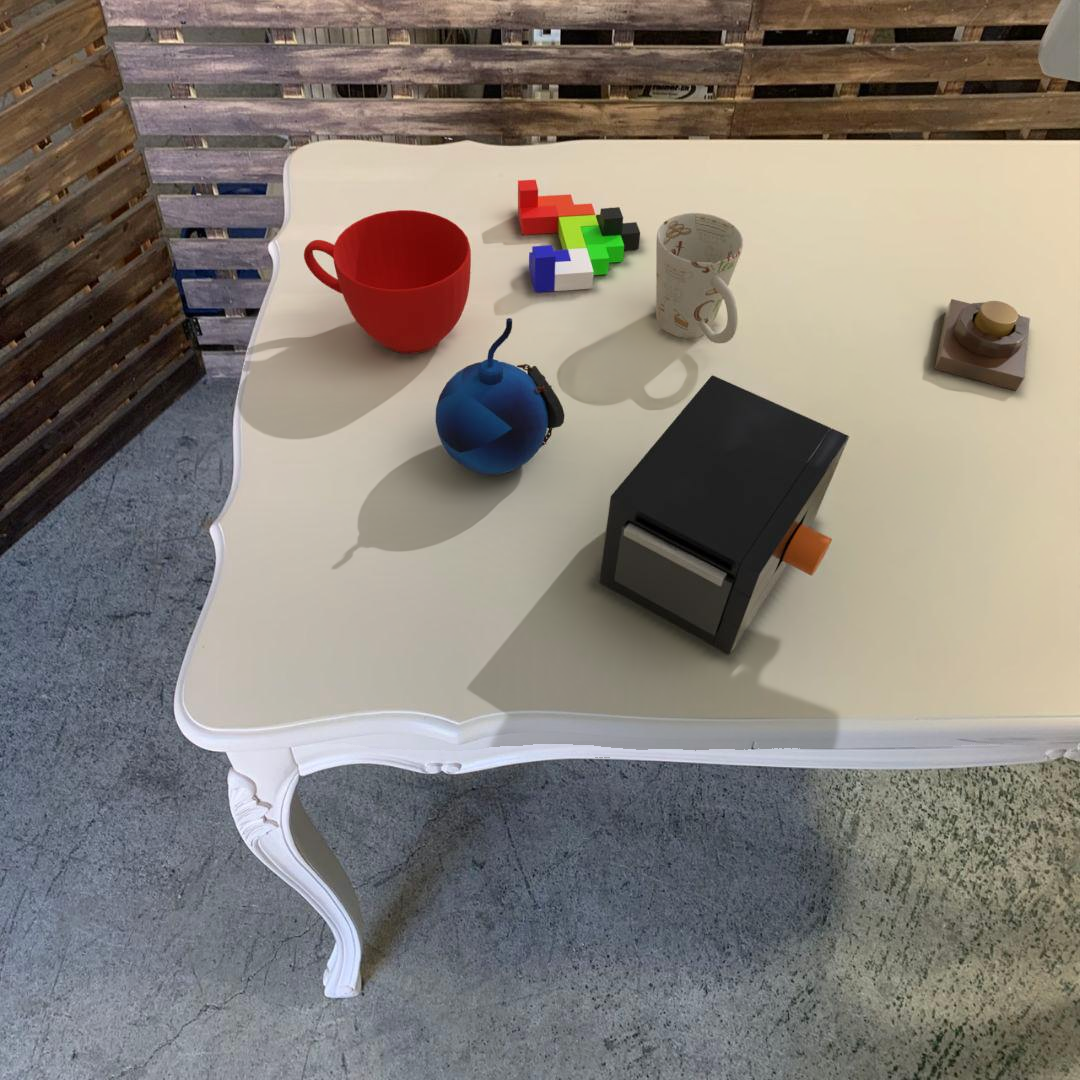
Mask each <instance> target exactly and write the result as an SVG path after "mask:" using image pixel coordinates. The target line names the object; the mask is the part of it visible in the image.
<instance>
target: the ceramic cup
mask: <svg viewBox="0 0 1080 1080" xmlns="http://www.w3.org/2000/svg"><path fill="white" fill-rule="evenodd" d="M314 251H320V252H323V253H325V254H327V255H328V256H330V257H331V258H332V259H333V267H334V271H335V274H336V277H334V276H333V275H331V274H330V273H328V271H326V270H325V269H324V268H323V267H322V266H321V264H319V262H318V260H317V259H316V258H315V255H314ZM303 259H304V263H305V264H306V266H307V268H308V270H309V271H310V272H311V274H312V275H313V276H314V277H315V278H316V279H317V280H318V281H319V282H320V283H322V284H323V285H325V286H326V287H327V288H329V289H331V290H334V291H335V292H337V293H339V294H341V295H342V297H343V299H344V301H345V303H346V305H347V307H348V310H349V312H350V315H351V316H352V317H353V319H354V320H355V322H356V323H357V324H358V325H359V326H360V328H361V329H362V330H363V331H364V332H365V333H366V334H367V335H368V336H369V337H370V338H372V339H374V341H376V342H378V343H380V344H381V345H383V346H385V347H386V348H388V349H389V350H391V351H393V352H397V353H401V354H419V353H422V352H426V351H429V350H431V349H433V348H435V346H437V345H438V344H439V343H440V342H441V341H442V340H443V339H444V338H446V337H447V336H448V335H449V334H450V333H451V332H452V330H454V328H455V326H456V325H457V324H458V322H459V321H460V319H461V317H462V314H463V312H464V309H465V307H466V304H467V301H468V298H469V292H470V284H471V282H470V281H471V267H472V266H471V265H472V249H471V244H470V242H469V238H468V236H467V235H466V233H465V232H464V230H463V229H462V228H460V227H459V225H457V224H456V223H455V222H453V221H451V220H449V219H448V218H446V217H443V216H441V215H439V214H435V213H431V212H428V211H421V210H413V209H410V210H409V209H397V210H388V211H387V210H386V211H383V212H378V213H374V214H371V215H369V216H366V217H363V218H361V219H359V220H357V221H355V222H354V223H352V224H351V225H349V226H347V227H346V228H345V229H344V230H343V231H342V232H341V233H340V234H339V236H338V237H337V239H336V241H335V242H334V244H333V243H331V242H329V241H326V240H322V239H314V240H311V241H310V242H309V243H308V244H306V246H305V248H304V251H303Z"/></svg>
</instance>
